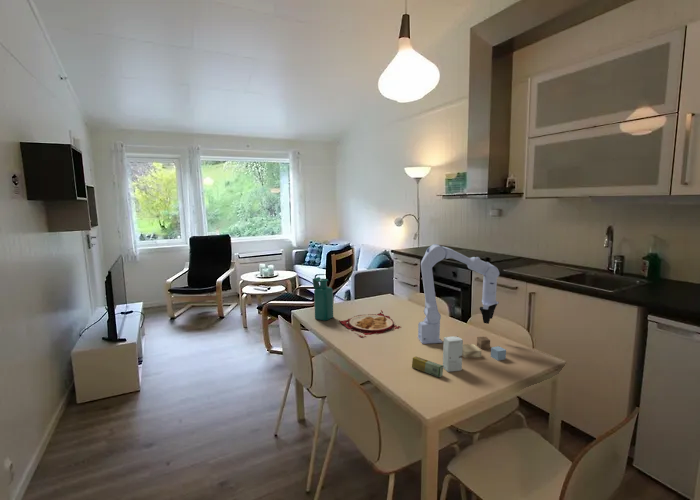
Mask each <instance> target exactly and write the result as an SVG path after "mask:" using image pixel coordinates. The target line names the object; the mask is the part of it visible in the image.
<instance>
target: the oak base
mask: <svg viewBox="0 0 700 500" xmlns="http://www.w3.org/2000/svg"><path fill="white" fill-rule="evenodd" d="M481 357H482V349H480V348H479V347H478V346H477V345H475V344H474V343H469V344H468V343H467V344H463V349H462V358H464V359H471V358H481Z"/></svg>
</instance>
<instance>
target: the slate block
mask: <svg viewBox="0 0 700 500" xmlns="http://www.w3.org/2000/svg"><path fill="white" fill-rule="evenodd" d="M490 358H492V359H494V360H495V361H496V362H497V361H498V362H499V361H503V360H506V359H507V349H505V348H503V347H501V346H499V345H498V346H492V347H490Z"/></svg>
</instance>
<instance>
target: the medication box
mask: <svg viewBox="0 0 700 500" xmlns="http://www.w3.org/2000/svg"><path fill="white" fill-rule="evenodd" d="M411 363H412V364H411V368H413V369H416V370H418V371H420V372H423V373H426V374H429V375H431V376H433V377H436V378H439V379H440V378H442V377H443V374H444V368H443V364H440V363H437V362H433V361H431V360H427V359H425V358H421V357H418V356H413V357H412V361H411Z"/></svg>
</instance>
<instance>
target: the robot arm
mask: <svg viewBox="0 0 700 500" xmlns="http://www.w3.org/2000/svg"><path fill="white" fill-rule="evenodd" d="M444 259H445V260H447V259H453V260H455V261H458V262H460V263H463V264H465V265H466V267H467V268H468V269H469V270H471V271H472V272H475V273H478V274H480V275H483V277H482V278H483V281H482V296H481V297H482V298H481V303H482V306H480V307H479V311H480V313H481V315H482V316H481V317H482V322H483V323H484V324H489V323H490V321H491V320H492V319H493V317H494V313H495V310H496V308H497V306H498V305H499V301H497V286H498V284H497V283H498V278H499V276H500V274H501V273H500V271H499V269H498V267H497V266H496V265H493V264H492V263H490V262H489V261H484V260H482V259H481V258H480V257H479V256H476V257H475V256H472V257H468V256H466V255H465V254H463V253H460V252H458V251H456V250H454V249H452V248H449V247H446V246H443V245H440V244H438V243H433V244H431V245H430V246H429V247H427V249H426V251H425V254H424V255H423V257H422V259H421V261H420V270H421V276H422V284H423V292H424V294H423V295H424V309H423V313H424V314H423V315H424V316H425V317H424V319H423V321H420V322H419V321H418V326H417V327H418V328H417V339H418V340H419V341H420V343H421V344H444V341H443V340H442V339H441V338H440V337H441V335H440V334H441V332H440V331H441V317H442V315H441V313H440V312H439V309H438V304H437V300H436V299H437V298H436V291H435V290H436V289H435V284H434V282H435V281H434V273H433V267H434V266H435V265H436V264H437V263H439V262H441V261H443V260H444Z"/></svg>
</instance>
